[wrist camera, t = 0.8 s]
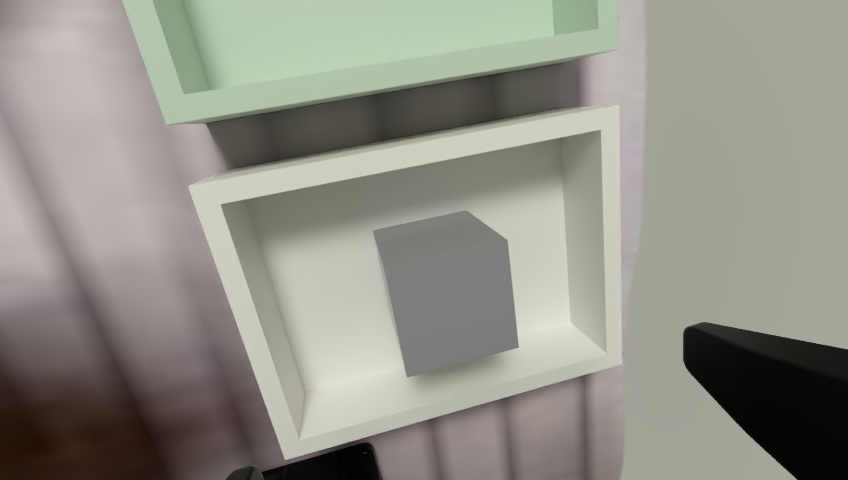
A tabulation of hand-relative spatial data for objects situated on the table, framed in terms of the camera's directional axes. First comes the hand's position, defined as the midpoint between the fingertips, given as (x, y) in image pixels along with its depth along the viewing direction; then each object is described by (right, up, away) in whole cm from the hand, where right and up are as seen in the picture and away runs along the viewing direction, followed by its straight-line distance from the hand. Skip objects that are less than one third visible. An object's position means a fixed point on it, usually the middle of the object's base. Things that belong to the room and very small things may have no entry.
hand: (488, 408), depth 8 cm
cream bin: (-1, +2, +12) cm, 12 cm away
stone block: (-1, +2, +12) cm, 12 cm away
